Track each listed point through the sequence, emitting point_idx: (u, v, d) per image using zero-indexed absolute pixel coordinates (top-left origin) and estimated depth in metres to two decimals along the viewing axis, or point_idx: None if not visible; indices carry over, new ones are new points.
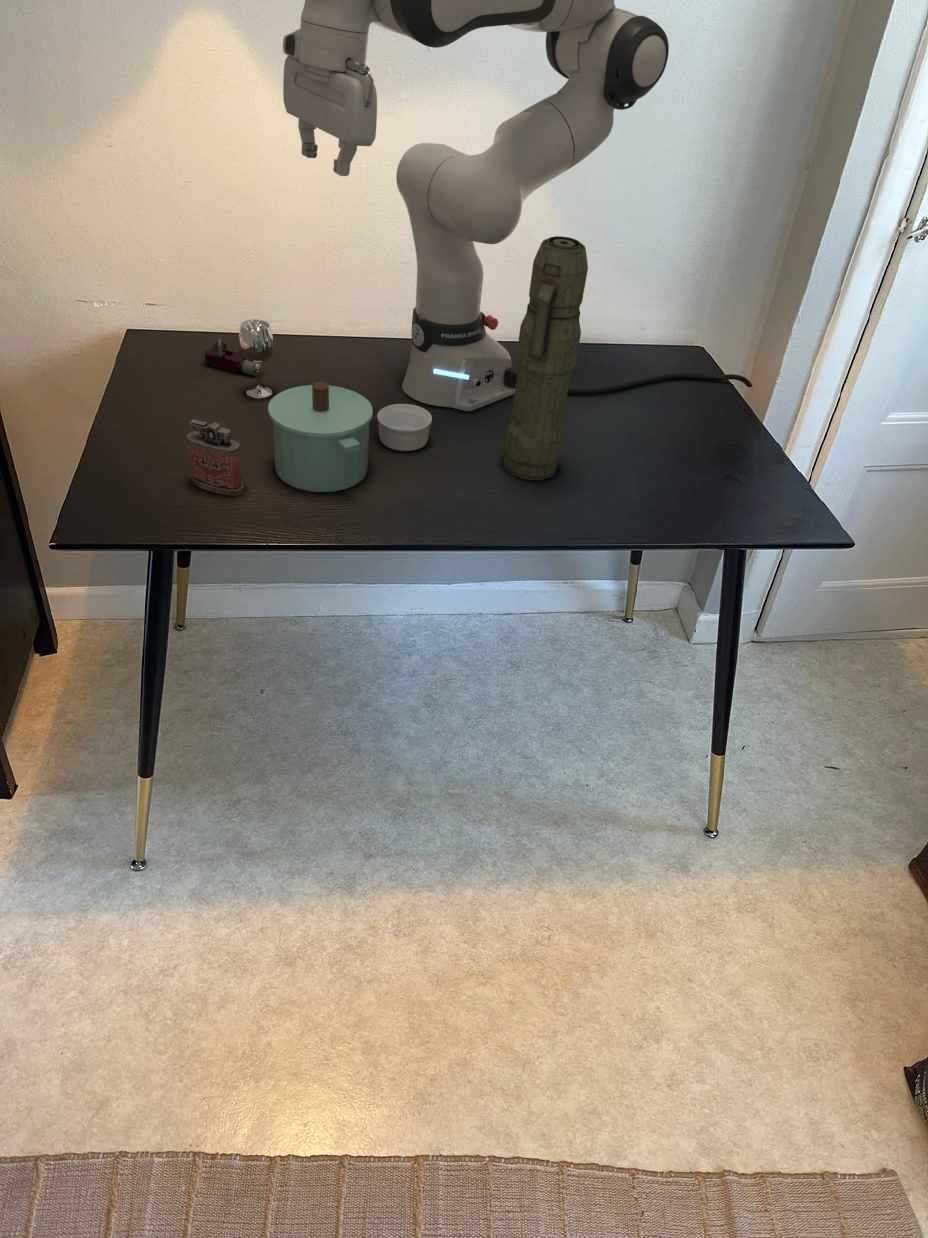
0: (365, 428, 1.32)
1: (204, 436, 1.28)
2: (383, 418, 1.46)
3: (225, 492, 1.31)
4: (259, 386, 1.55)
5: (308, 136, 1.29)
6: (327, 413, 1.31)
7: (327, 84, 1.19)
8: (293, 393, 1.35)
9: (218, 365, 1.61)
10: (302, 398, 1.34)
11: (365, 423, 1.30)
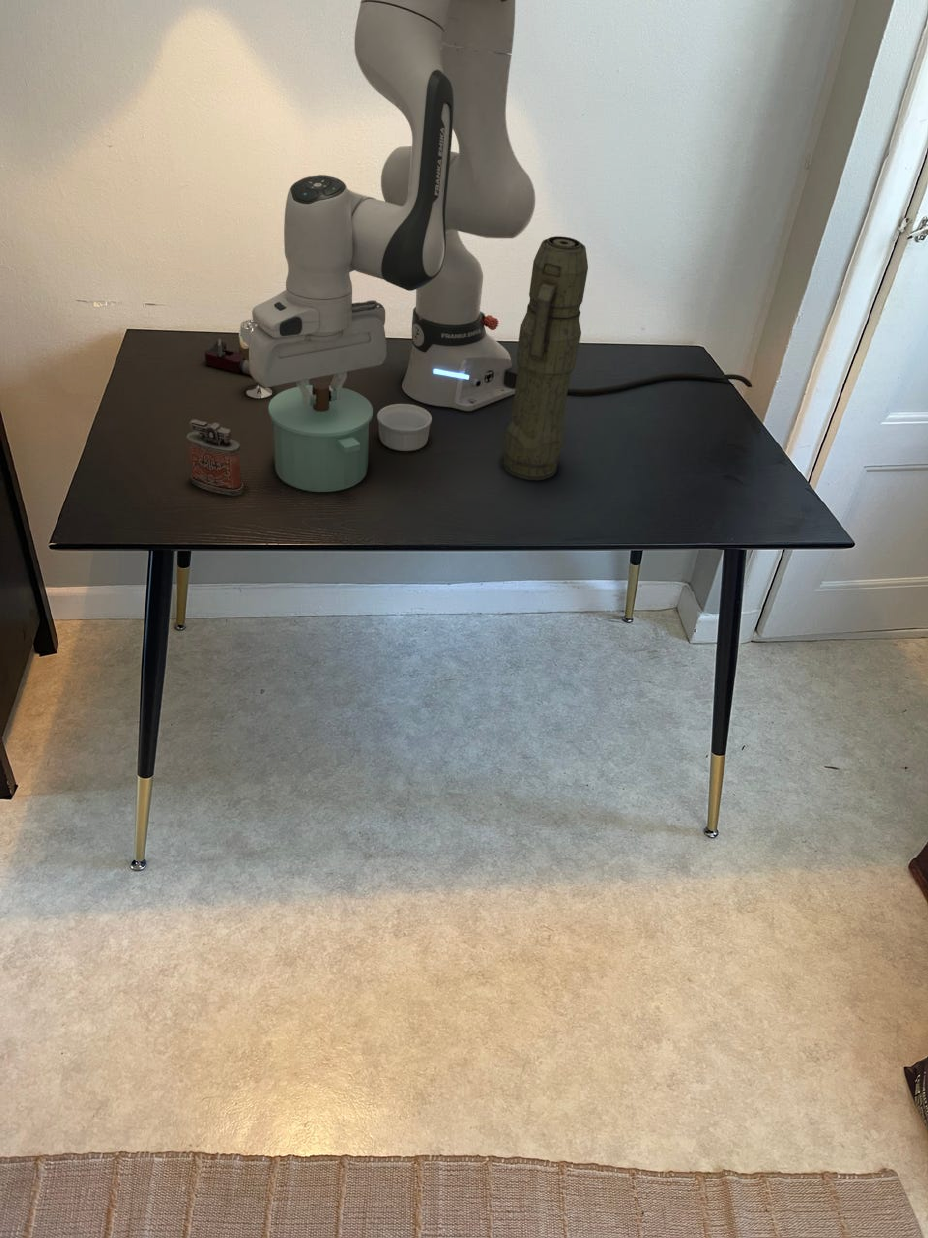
0: (365, 428, 1.32)
1: (204, 436, 1.28)
2: (383, 418, 1.46)
3: (225, 492, 1.31)
4: (259, 386, 1.55)
5: None
6: (327, 413, 1.31)
7: (341, 335, 1.25)
8: (293, 393, 1.35)
9: (218, 365, 1.61)
10: None
11: (365, 423, 1.30)
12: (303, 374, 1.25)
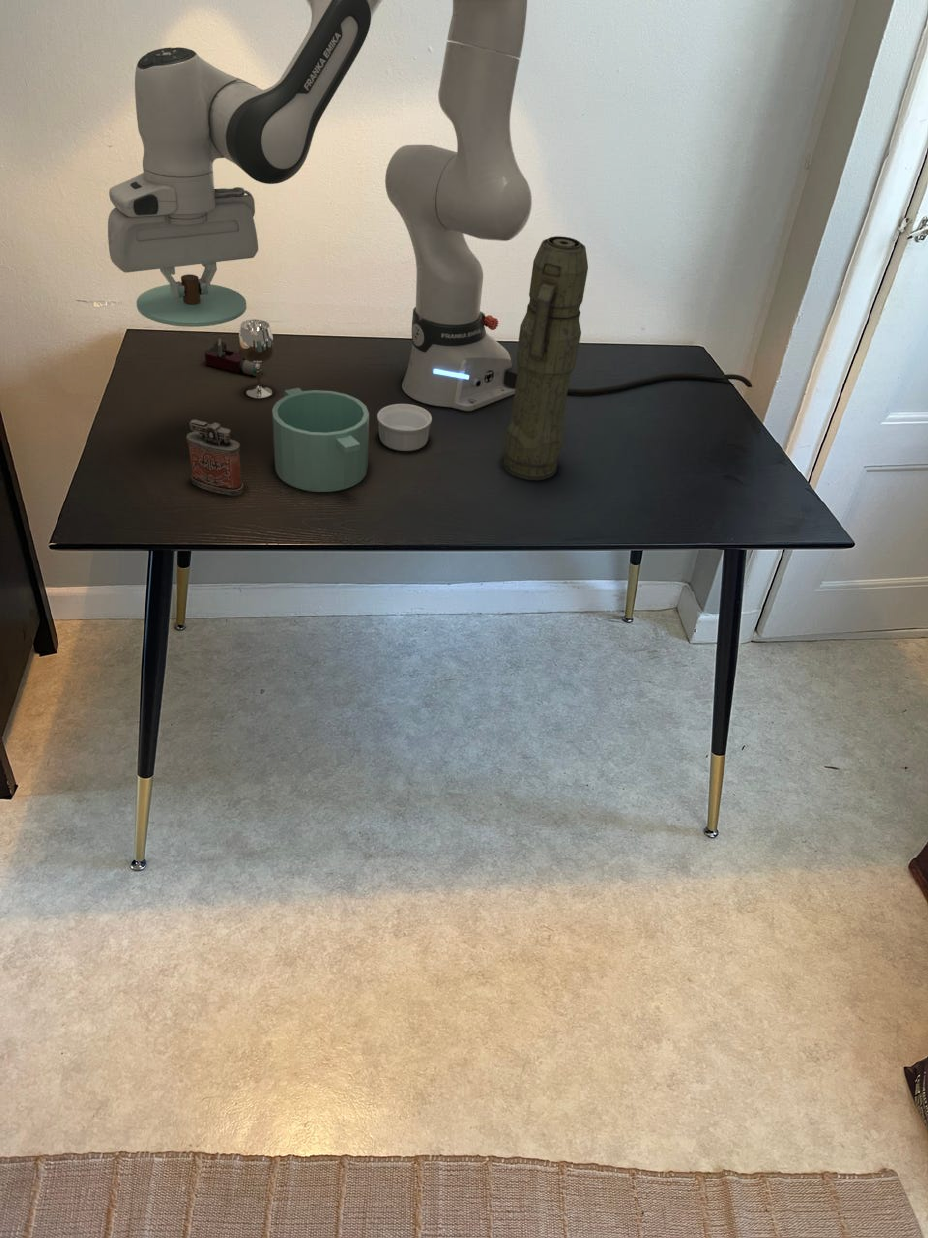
0: (365, 428, 1.32)
1: (204, 436, 1.28)
2: (383, 418, 1.46)
3: (225, 492, 1.31)
4: (259, 386, 1.55)
5: None
6: (197, 306, 1.28)
7: (205, 221, 1.22)
8: (166, 289, 1.32)
9: (218, 365, 1.61)
10: None
11: (235, 315, 1.27)
12: (166, 261, 1.22)
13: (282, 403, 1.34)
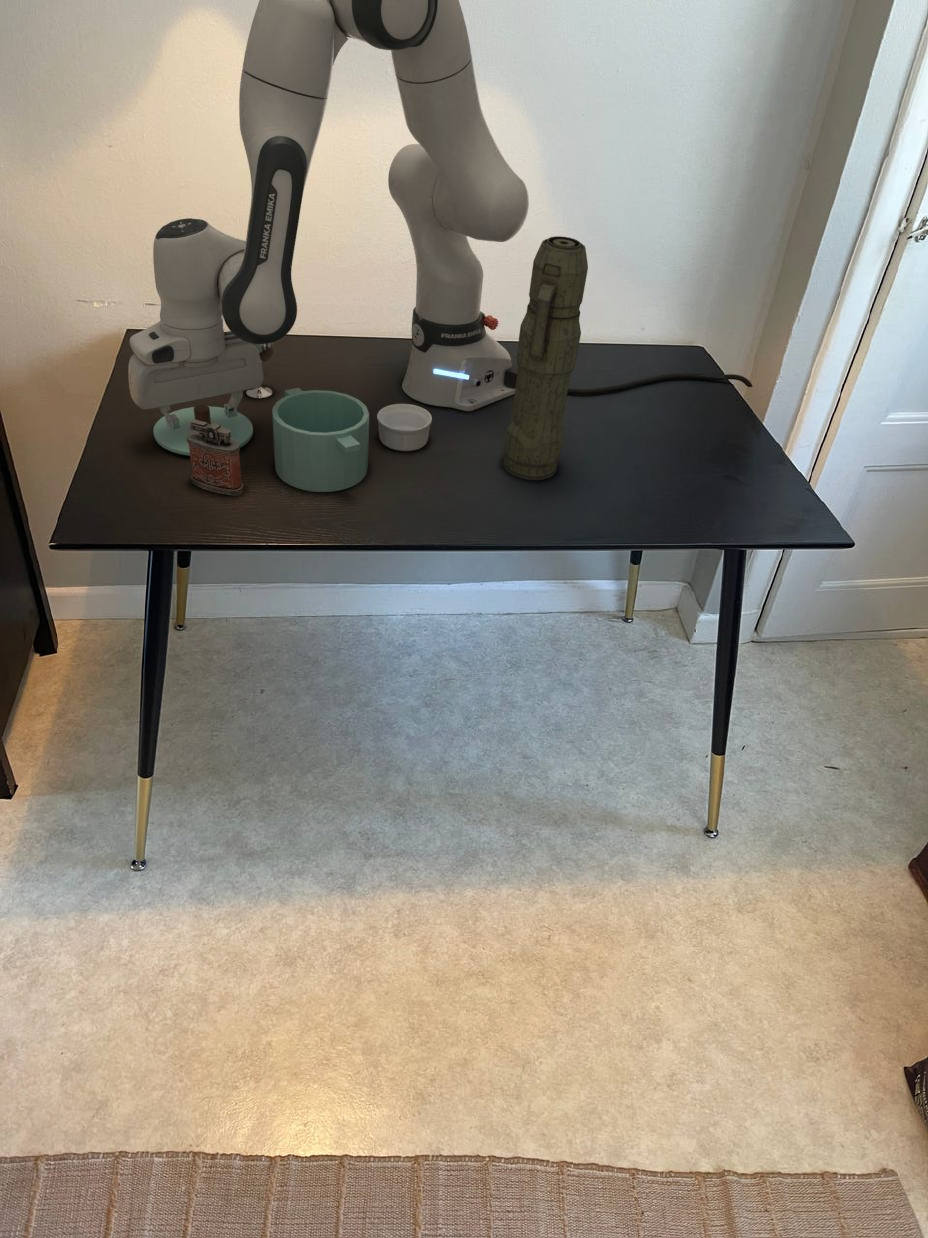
0: (365, 428, 1.32)
1: (204, 436, 1.28)
2: (383, 418, 1.46)
3: (225, 492, 1.31)
4: None
5: (168, 413, 1.38)
6: None
7: (215, 361, 1.35)
8: (180, 414, 1.45)
9: None
10: (187, 419, 1.44)
11: (243, 443, 1.40)
12: (181, 397, 1.36)
13: (282, 403, 1.34)
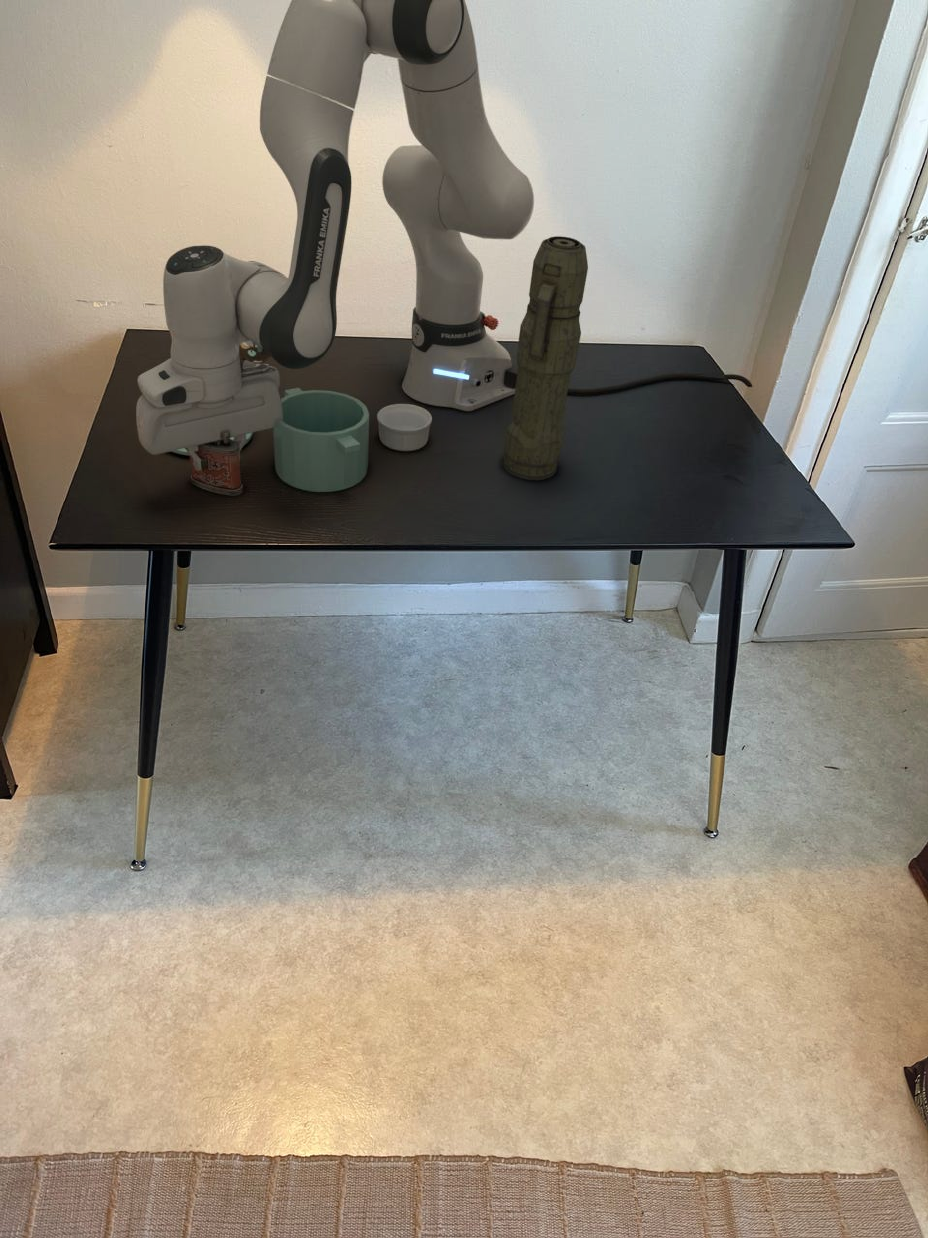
0: (365, 428, 1.32)
1: None
2: (383, 418, 1.46)
3: (225, 492, 1.31)
4: None
5: None
6: None
7: (231, 400, 1.24)
8: None
9: None
10: None
11: None
12: (194, 440, 1.24)
13: (282, 403, 1.34)
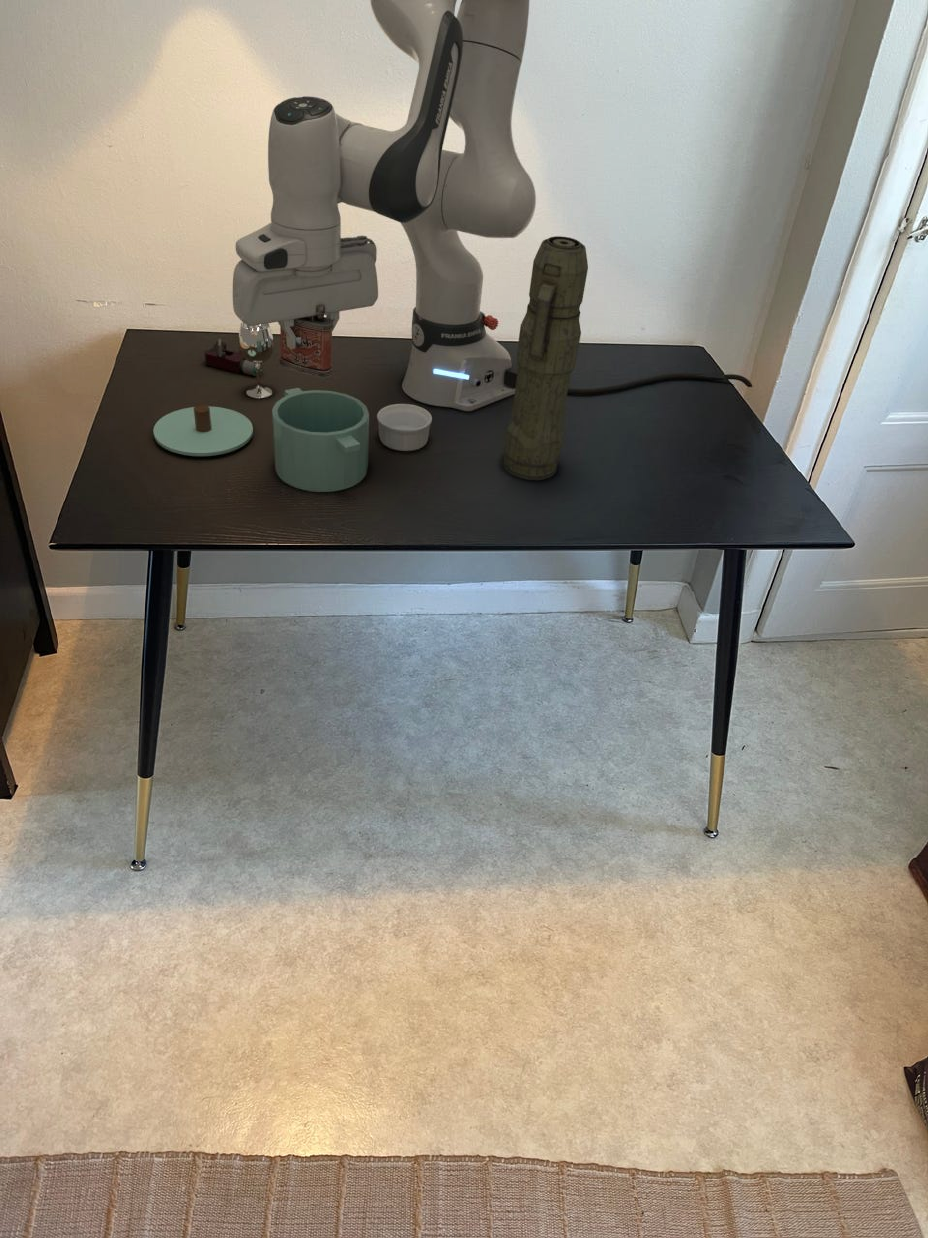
0: (365, 428, 1.32)
1: None
2: (383, 418, 1.46)
3: (313, 373, 1.26)
4: (259, 386, 1.55)
5: None
6: (208, 434, 1.41)
7: (329, 272, 1.19)
8: (180, 414, 1.45)
9: (218, 365, 1.61)
10: (187, 419, 1.44)
11: (243, 443, 1.40)
12: (290, 313, 1.19)
13: (282, 403, 1.34)
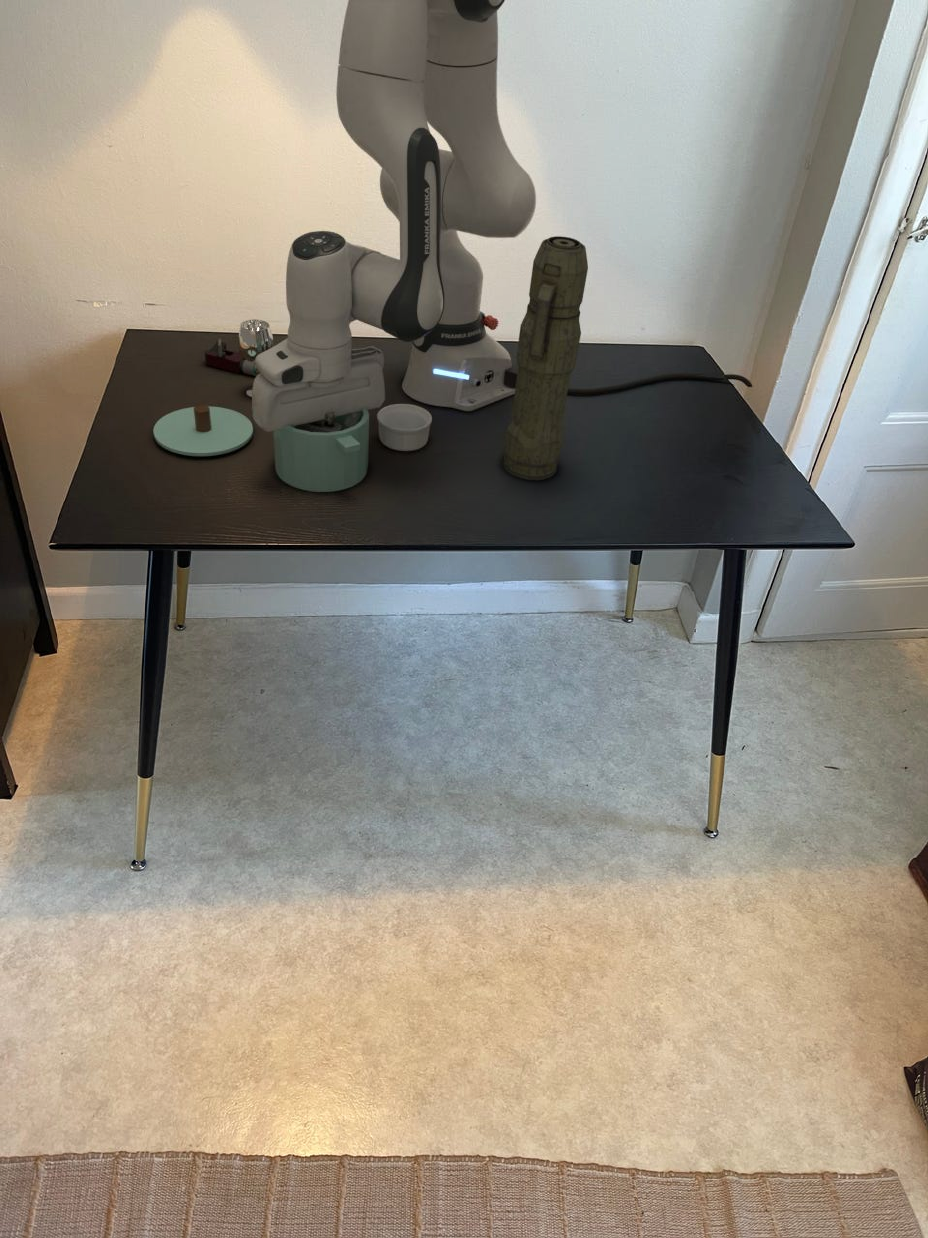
0: (365, 428, 1.32)
1: None
2: (383, 418, 1.46)
3: None
4: None
5: None
6: (208, 434, 1.41)
7: (341, 381, 1.30)
8: (180, 414, 1.45)
9: (218, 365, 1.61)
10: (187, 419, 1.44)
11: (243, 443, 1.40)
12: (304, 418, 1.30)
13: None
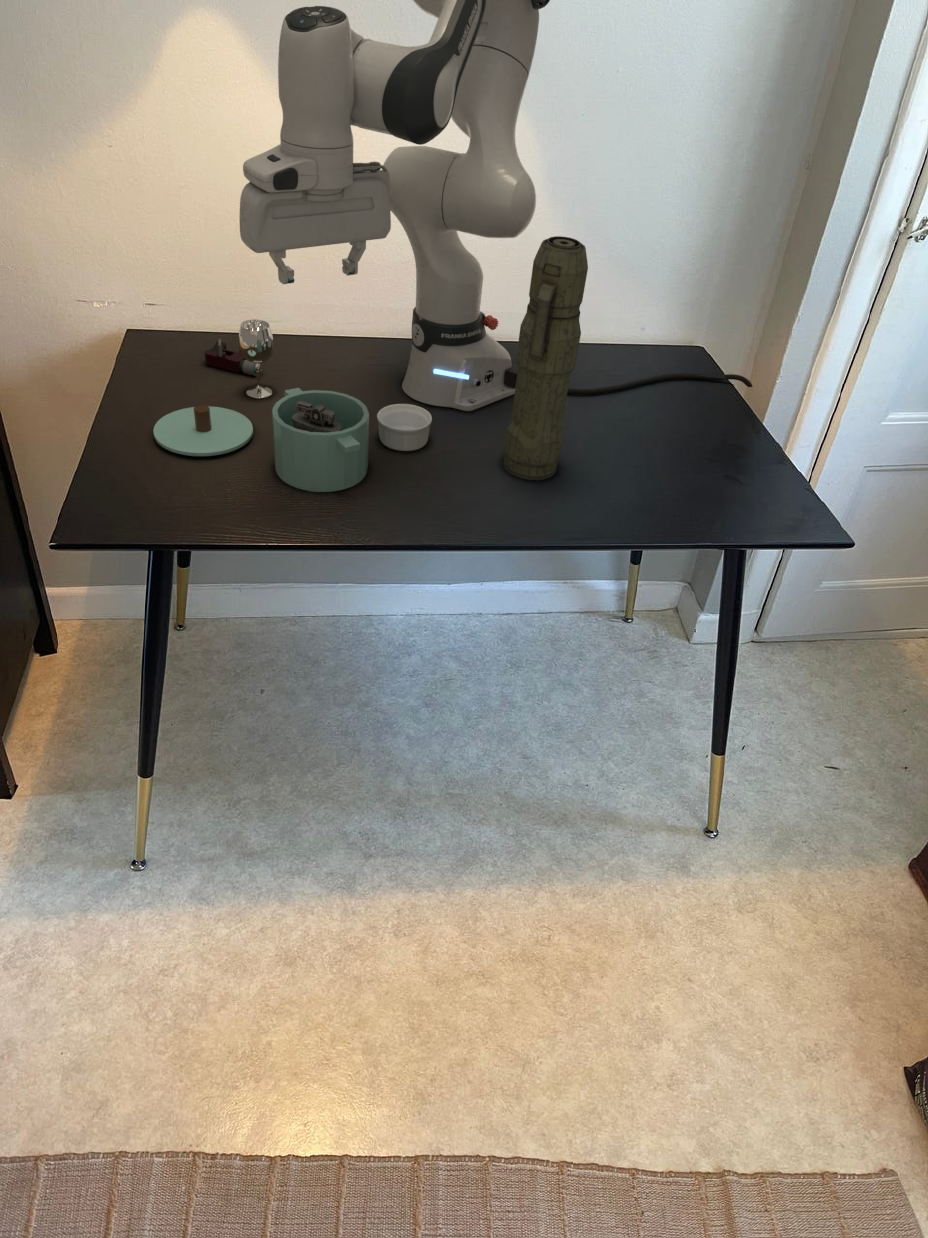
0: (365, 428, 1.32)
1: (309, 417, 1.34)
2: (383, 418, 1.46)
3: None
4: (259, 386, 1.55)
5: None
6: (208, 434, 1.41)
7: (341, 198, 1.14)
8: (180, 414, 1.45)
9: (218, 365, 1.61)
10: (187, 419, 1.44)
11: (243, 443, 1.40)
12: (299, 241, 1.14)
13: (282, 403, 1.34)
